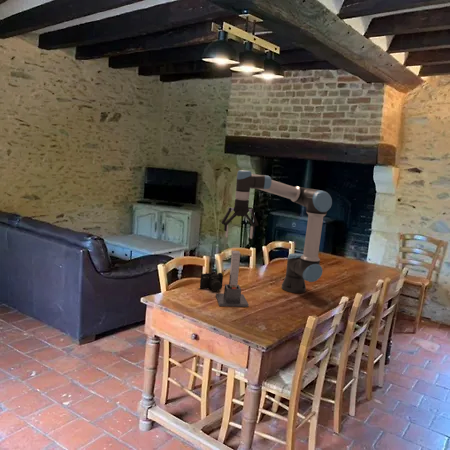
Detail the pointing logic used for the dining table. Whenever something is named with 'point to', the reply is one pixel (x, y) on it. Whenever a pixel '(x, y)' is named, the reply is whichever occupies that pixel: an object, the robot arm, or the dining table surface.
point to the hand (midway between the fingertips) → (238, 237)
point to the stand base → (232, 297)
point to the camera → (211, 281)
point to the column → (234, 269)
